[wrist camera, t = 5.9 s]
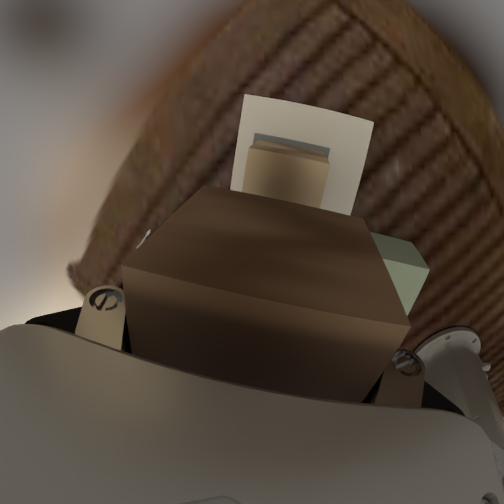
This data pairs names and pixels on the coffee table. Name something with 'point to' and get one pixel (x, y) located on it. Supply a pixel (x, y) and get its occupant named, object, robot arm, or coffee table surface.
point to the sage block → (403, 267)
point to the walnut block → (265, 296)
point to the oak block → (286, 172)
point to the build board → (308, 143)
